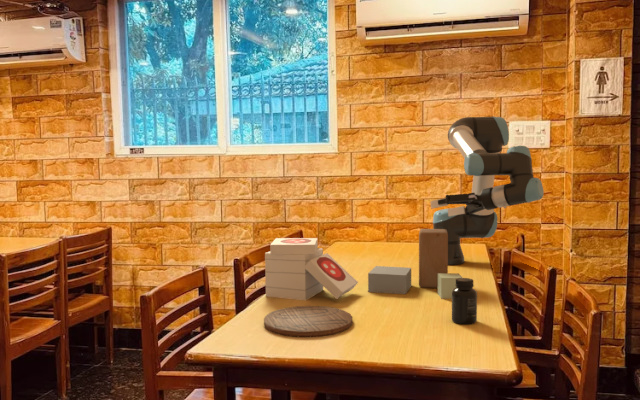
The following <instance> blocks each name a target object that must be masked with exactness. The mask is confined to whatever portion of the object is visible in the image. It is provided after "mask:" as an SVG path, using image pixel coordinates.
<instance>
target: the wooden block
mask: <svg viewBox="0 0 640 400" xmlns="http://www.w3.org/2000/svg"><path fill="white" fill-rule="evenodd" d="M418 232H419V233H418V286H419V287H420V288H422V289H423V288H427V289H429V288H430V289H438V273H449V270H448V269H449V265H448V233H447V230H445V229H433V228H421V229H419V231H418Z"/></svg>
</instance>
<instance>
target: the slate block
mask: <svg viewBox="0 0 640 400" xmlns="http://www.w3.org/2000/svg"><path fill="white" fill-rule="evenodd" d="M367 279H368V281H367V285H368V287H367V291H368V293H380V294H381V293H383V294H398V295H399V294H400V295H406V294H407V293H408V292H409V290H410V289H411V287H412V267H401V266H385V265H383V266H381V265H375V266H374V267H373V268H372V269H371V270H370V271H369V272H368V274H367Z"/></svg>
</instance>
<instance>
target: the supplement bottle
mask: <svg viewBox="0 0 640 400" xmlns="http://www.w3.org/2000/svg"><path fill="white" fill-rule="evenodd" d="M455 286H456V288H454V289H453V291H452V299H451V321H452V322H453V323H455V324H457V325H463V326H471V325H474V324H476V323H477V321H478V318H477V317H478V293H477V290H476V289H475V288H474V286H475V285H474V279H472V278H469V277H463V278H457V279H456V284H455Z"/></svg>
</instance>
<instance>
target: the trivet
mask: <svg viewBox="0 0 640 400" xmlns="http://www.w3.org/2000/svg"><path fill="white" fill-rule="evenodd" d="M263 325H264V328H265V329H266V331H268V332H270V333H272V334H275V335H279V336H282V337H291V338H306V339H307V338H321V337H327V336H333V335H337V334H341V333H344V332H346V331H348V330H349V329H350V328H351V327H352V326H353V316H352V315H351V313H350V312H348V311H346V310H343V309H340V308H337V307H330V306H323V305H299V306H291V307H284V308H280V309H279V308H278V309H276V310H273V311H271V312H269V313H268V314H266V315H265V316H264V318H263Z"/></svg>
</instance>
